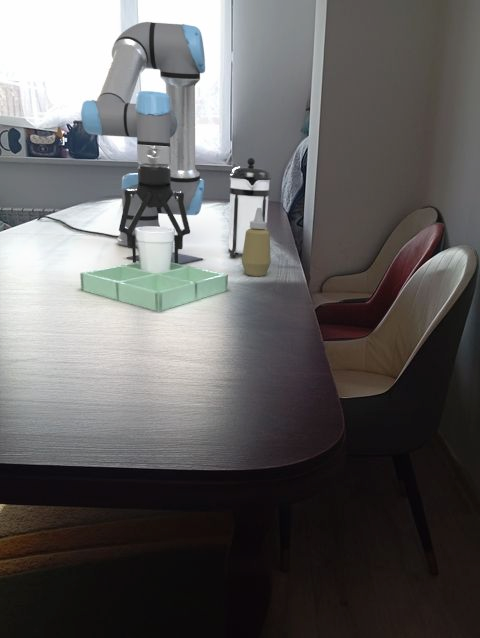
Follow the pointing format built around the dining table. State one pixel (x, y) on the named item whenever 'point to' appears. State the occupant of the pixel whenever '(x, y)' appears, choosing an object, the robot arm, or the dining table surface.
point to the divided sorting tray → (154, 285)
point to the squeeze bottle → (257, 247)
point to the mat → (181, 258)
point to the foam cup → (155, 247)
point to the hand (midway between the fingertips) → (155, 261)
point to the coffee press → (246, 202)
